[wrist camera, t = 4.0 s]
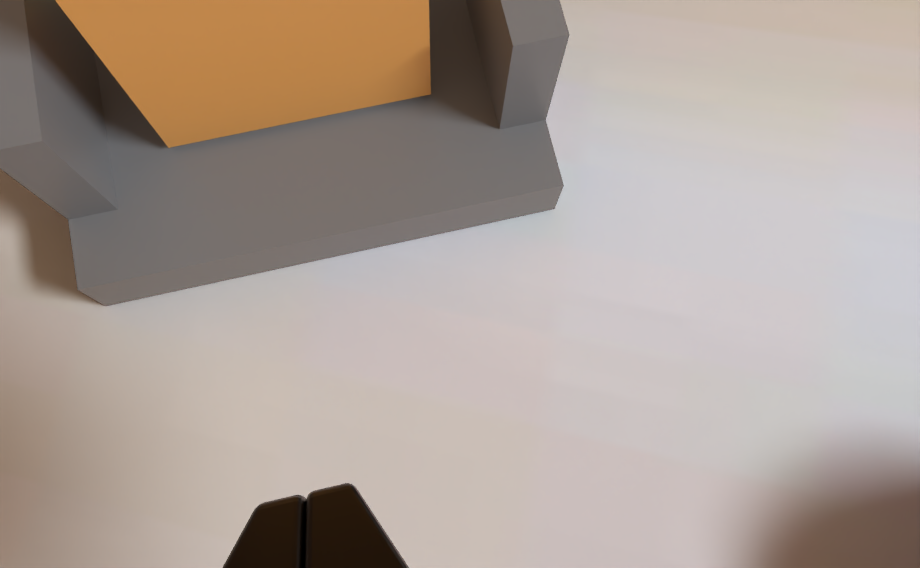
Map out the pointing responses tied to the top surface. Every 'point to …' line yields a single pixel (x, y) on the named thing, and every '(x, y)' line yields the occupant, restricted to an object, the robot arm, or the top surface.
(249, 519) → the robot arm
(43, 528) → the top surface
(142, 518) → the top surface
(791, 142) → the top surface
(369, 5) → the breaker toggle
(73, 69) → the base
